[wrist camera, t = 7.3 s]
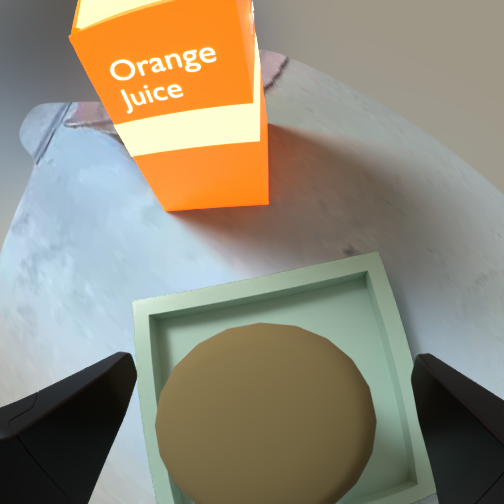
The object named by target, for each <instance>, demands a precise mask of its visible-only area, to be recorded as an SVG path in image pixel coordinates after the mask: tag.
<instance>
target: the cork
mask: <svg viewBox="0 0 504 504" xmlns="http://www.w3.org/2000/svg"><path fill="white" fill-rule="evenodd" d="M376 424H377V419H376V414H375V409H374V405H373V400H372V395H371V391H370V387H369V385H368V384H367V382H366V380H365V379H364V377H363V376H362V374H361V372H360V371H359V369H358V368H357V366H356V364H355V363H354V361H353V360H352V359H351V358H350V357H349V356H348V355H347V354H345V353H344V352H343V351H342V350H340V349H339V348H338V347H337V346H336V345H334V344H333V343H332V342H331V341H330V340H328V339H327V338H325V337H322V336H320V335H317V334H315V333H312V332H310V331H308V330H305V329H303V328H300V327H298V326H293V325H282V324H271V323H261V322H260V323H255V324H250V325H245V326H240V327H234V328H229V329H226V330H224V331H222V332H220V333H218V334H216V335H214V336H212V337H211V338H209V339H207V340H205V341H203V342H201V343H199V344H197V345H196V346H195V347H194V348H193V349H192V350H191V351H190V352H189V353H188V354H187V355H186V356H185V357H184V358H183V359H182V360H181V361H180V362H179V363H178V364H177V365H176V366H175V367H174V369H173V371H172V373H171V374H170V376H169V378H168V380H167V382H166V384H165V386H164V388H163V389H162V391H161V393H160V397H159V403H158V408H157V414H156V421H155V430H156V436H157V442H158V448H159V454H160V457H161V459H162V461H163V463H164V465H165V467H166V469H167V471H168V472H169V474H170V476H171V478H172V480H173V482H174V483H175V485H176V486H177V487H178V488H179V489H180V490H181V491H182V492H183V493H184V494H185V495H186V496H188V497H189V498H190V499H191V500H192V501H193V502H194V503H195V504H336V503H337V502H338V501H339V500H340V499H341V498H342V497H343V496H344V495H345V494H346V493H347V492H348V491H349V490H351V489H352V488H353V487H354V486H355V485H356V484H357V482H358V480H359V478H360V476H361V474H362V473H363V471H364V469H365V467H366V465H367V463H368V461H369V459H370V457H371V455H372V452H373V446H374V439H375V431H376Z"/></svg>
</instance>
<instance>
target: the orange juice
mask: <svg viewBox="0 0 504 504" xmlns="http://www.w3.org/2000/svg"><path fill="white" fill-rule="evenodd" d="M252 5H253V4H252ZM252 7H253V6H252ZM253 10H254V9H253ZM253 15H254V14H252V8H251V2H250V0H78V4H77V8H76V13H75V18H74V22H73V27H72V32H71V35H70V36H69V39H70V41H71V43H72V44H73V47H74V49H75V51H76V53H77V55H78V57H79V59H80V60H81V62H82V65H83V66H84V69H85V70H86V72H87V74H88V76H89V78H90V80H91V82H92V84H93V86H94V88H95V90H96V91H97V93H98V95H99V97H100V99H101V101H102V103H103V104H104V106H105V108H106V110H107V112H108V114H109V115H110V117H111V119H112V121H113V123H114V124H115V125H114V127H115V128H116V130H117V132H118V134H119V135H120V137H121V139H122V141H123V142H124V144H125V146H126V148H127V149H128V151H129V153H130V155H131V156H133V158H134V160H135V161H136V163H137V165H138V167H139V168H140V170H141V172H142V173H143V175H144V177H145V178H146V180H147V182H148V183H149V185H150V187H151V188H152V190H153V192H154V193H155V195H156V197H157V198H158V200H159V202H160V203H161V205H162V207H163V208H164V210H165V211H176V210H188V209H202V208H216V207H231V206H248V205H267V204H268V135H267V117H266V109H265V101H264V93H263V85H262V78H261V71H260V59H259V52H258V45H257V38H256V34H255V29H254V22H253Z"/></svg>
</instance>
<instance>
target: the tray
mask: <svg viewBox="0 0 504 504" xmlns="http://www.w3.org/2000/svg"><path fill="white" fill-rule="evenodd" d="M260 322H261V323H271V324H282V325H293V326H298V327H300V328H303V329H305V330H308V331H310V332H312V333H315V334H317V335H320V336H322V337H325V338H327V339H328V340H330V341H331V342H332V343H333V344H334V345H336V346H337V347H338V348H339V349H340V350H342V351H343V352H344V353H345V354H347V355H348V356H349V357H350V358H351V359H352V360H353V361H354V363H355V364H356V366H357V368H358V369H359V371H360V372H361V374H362V376H363V377H364V379H365V380H366V382H367V384H368V385H369V387H370V391H371V395H372V400H373V405H374V409H375V414H376V419H377V424H376V431H375V439H374V446H373V452H372V455H371V457H370V459H369V461H368V463H367V465H366V467H365V469H364V471H363V473H362V474H361V476H360V478H359V480H358V482H357V484H356V485H355V486H354V487H353V488H352V489H351V490H349V491H348V492H347V493H346V494H345V495H344V496H343V497H342V498H341V499H340V500H339V501H338V502H337V503H336V504H411V503H413V502H416V501H418V500H421V499H423V498H425V497H428V496H430V495H432V494H434V493H436V487H435V483H434V478H433V474H432V470H431V466H430V462H429V458H428V455H427V451H426V447H425V443H424V440H423V436H422V433H421V429H420V426H419V422H418V417H417V412H416V406H415V400H414V395H413V390H412V385H411V374H412V370H413V366H414V365H413V361H412V357H411V353H410V349H409V345H408V342H407V338H406V335H405V331H404V328H403V324H402V321H401V317H400V314H399V311H398V308H397V304H396V301H395V298H394V295H393V292H392V289H391V286H390V283H389V280H388V277H387V274H386V271H385V268H384V266H383V263H382V260H381V257H380V254H379V252H378V251H374V252H370V253H365V254H361V255H356V256H352V257H348V258H343V259H339V260H334V261H330V262H325V263H321V264H316V265H311V266H307V267H302V268H298V269H293V270H288V271H283V272H279V273H274V274H269V275H264V276H260V277H255V278H250V279H245V280H240V281H235V282H230V283H225V284H220V285H215V286H210V287H205V288H200V289H195V290H190V291H184V292H179V293H174V294H169V295H163V296H158V297H152V298H147V299H142V300H136V301H133V326H134V344H135V359H136V370H137V382H138V391H139V400H140V409H141V417H142V424H143V431H144V438H145V444H146V450H147V456H148V461H149V467H150V472H151V477H152V482H153V487H154V492H155V496H156V501H157V504H195V503H194V502H193V501H192V500H191V499H190V498H189V497H188V496H186V495H185V494H184V493H183V492H182V491H181V490H180V489H179V488H178V487H177V486H176V485H175V483H174V482H173V480H172V478H171V476H170V474H169V472H168V471H167V469H166V467H165V465H164V463H163V461H162V459H161V457H160V454H159V448H158V442H157V436H156V430H155V421H156V414H157V408H158V403H159V397H160V393H161V391H162V389H163V388H164V386H165V384H166V382H167V380H168V378H169V376H170V374H171V373H172V371H173V369H174V367H175V366H176V365H177V364H178V363H179V362H180V361H181V360H182V359H183V358H184V357H185V356H186V355H187V354H188V353H189V352H190V351H191V350H192V349H193V348H194V347H195V346H196V345H197V344H199V343H201V342H203V341H205V340H207V339H209V338H211V337H212V336H214V335H216V334H218V333H220V332H222V331H224V330H226V329H229V328H234V327H240V326H245V325H250V324H255V323H260Z"/></svg>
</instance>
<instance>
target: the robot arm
mask: <svg viewBox="0 0 504 504" xmlns="http://www.w3.org/2000/svg"><path fill="white" fill-rule="evenodd" d="M136 380H137V370H136V367H135V364H134V361H133V358H132V355H131V354H130V353H127V352H117V353H115V354H113V355H111V356H109V357H107V358H105V359H103V360H101V361H99V362H97V363H95V364H93V365H91V366H89V367H87V368H85V369H83V370H81V371H79V372H77V373H75V374H73V375H71V376H69V377H67V378H65V379H63V380H61V381H59V382H57V383H55V384H53V385H51V386H48V387H46V388H44V389H42V390H40V391H39V392H36V393H34V394H32V395H30V396H27V397H25V398H23V399H21V400H18V401H16V402H14V403H11V404H8V405H6V406H3V407H1V408H0V504H88V502H89V500H90V497H91V495H92V492H93V490H94V487H95V485H96V483H97V480H98V478H99V475H100V473H101V470H102V468H103V466H104V463H105V461H106V458H107V456H108V454H109V451H110V449H111V447H112V444H113V442H114V440H115V438H116V435H117V433H118V431H119V428H120V426H121V424H122V422H123V419H124V417H125V414H126V411H127V409H128V405H129V402H130V399H131V396H132V393H133V390H134V387H135V383H136ZM411 385H412V390H413V395H414V400H415V406H416V412H417V417H418V422H419V426H420V429H421V433H422V436H423V440H424V443H425V447H426V451H427V455H428V458H429V462H430V466H431V470H432V474H433V478H434V483H435V487H436V492H437V496H438V501H439V504H504V400H502V399H501V398H499V397H498V396H496V395H495V394H493V393H491V392H490V391H488V390H487V389H485V388H484V387H482V386H480V385H479V384H477V383H476V382H474V381H473V380H471V379H469V378H468V377H466V376H465V375H463V374H462V373H460V372H458V371H457V370H455V369H454V368H452V367H450V366H449V365H447V364H446V363H444V362H443V361H441V360H439V359H438V358H436V357H435V356H433V355H431V354H429V353H426V354H419V355H417V357H416V359H415V363H414V366H413V370H412V374H411Z"/></svg>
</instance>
